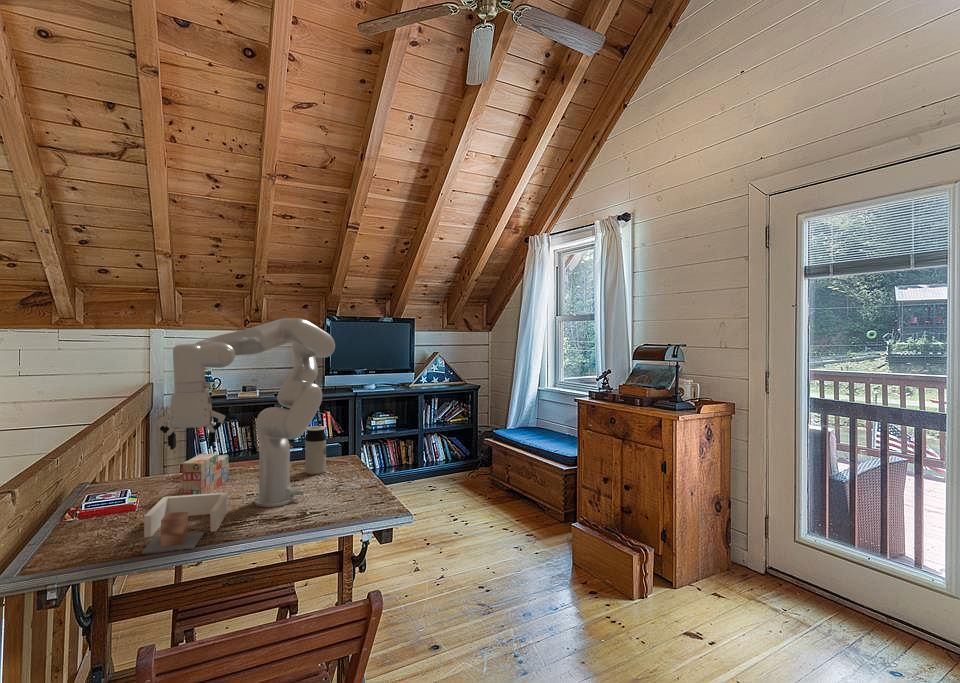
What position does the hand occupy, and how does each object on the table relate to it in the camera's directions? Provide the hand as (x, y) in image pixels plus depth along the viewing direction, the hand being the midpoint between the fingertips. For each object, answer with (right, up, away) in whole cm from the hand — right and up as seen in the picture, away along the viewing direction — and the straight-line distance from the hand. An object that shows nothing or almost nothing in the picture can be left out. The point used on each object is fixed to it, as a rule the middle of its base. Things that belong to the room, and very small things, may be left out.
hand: (192, 446), depth 141 cm
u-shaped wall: (-4, -24, +5) cm, 25 cm away
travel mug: (+15, -23, +59) cm, 65 cm away
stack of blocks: (-16, -23, +37) cm, 47 cm away
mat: (0, -24, -8) cm, 26 cm away
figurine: (+3, -23, +59) cm, 64 cm away
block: (0, -24, -8) cm, 25 cm away
